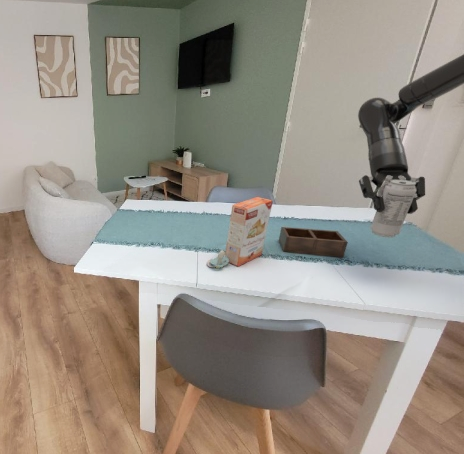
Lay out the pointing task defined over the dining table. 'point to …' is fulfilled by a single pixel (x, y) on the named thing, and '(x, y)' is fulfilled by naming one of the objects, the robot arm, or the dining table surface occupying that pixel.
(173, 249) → the dining table surface
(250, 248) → the cracker box
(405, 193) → the energy drink can
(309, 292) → the dining table surface
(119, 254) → the dining table surface
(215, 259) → the pacifier
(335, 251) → the wooden box with compartments
